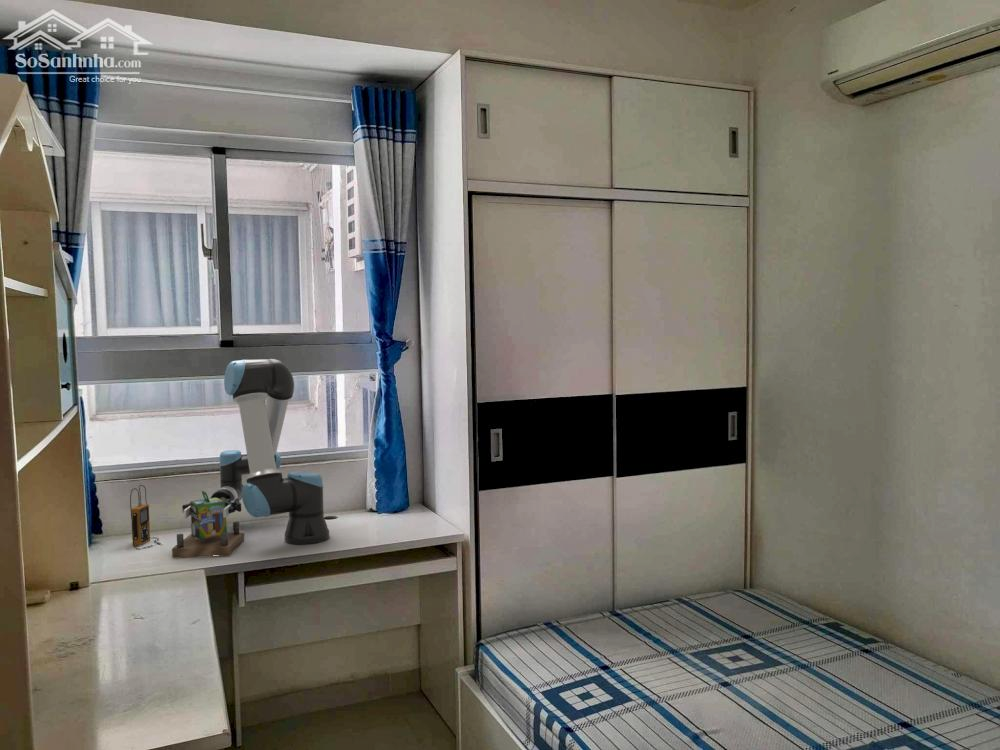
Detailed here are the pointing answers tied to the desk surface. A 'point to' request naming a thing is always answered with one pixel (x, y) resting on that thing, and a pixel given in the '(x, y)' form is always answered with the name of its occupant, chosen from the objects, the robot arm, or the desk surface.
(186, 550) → the peg stand
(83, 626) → the desk surface
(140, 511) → the multimeter
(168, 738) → the desk surface
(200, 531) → the chalk box
